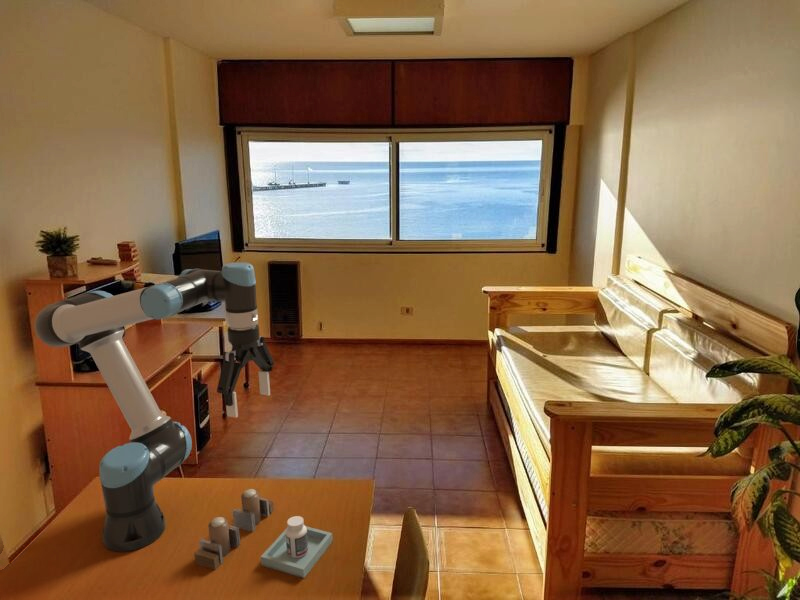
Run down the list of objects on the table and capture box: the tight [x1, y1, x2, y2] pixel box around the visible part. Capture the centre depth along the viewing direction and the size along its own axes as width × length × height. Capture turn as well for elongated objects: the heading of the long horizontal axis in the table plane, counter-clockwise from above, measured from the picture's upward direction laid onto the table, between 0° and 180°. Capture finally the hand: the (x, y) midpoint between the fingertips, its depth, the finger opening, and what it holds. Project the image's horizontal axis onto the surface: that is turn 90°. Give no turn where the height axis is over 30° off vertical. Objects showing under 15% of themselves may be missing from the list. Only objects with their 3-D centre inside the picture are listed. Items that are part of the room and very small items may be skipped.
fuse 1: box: [208, 516, 231, 558], centre depth 144 cm, size 5×5×9 cm
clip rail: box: [193, 496, 275, 571], centre depth 150 cm, size 6×25×5 cm, turn 158°
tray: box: [260, 525, 334, 579], centre depth 144 cm, size 12×14×2 cm
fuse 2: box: [240, 488, 262, 526], centre depth 156 cm, size 5×5×9 cm
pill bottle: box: [285, 515, 308, 558], centre depth 143 cm, size 5×5×9 cm
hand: (249, 405), depth 147 cm, fingers open, 13 cm apart
